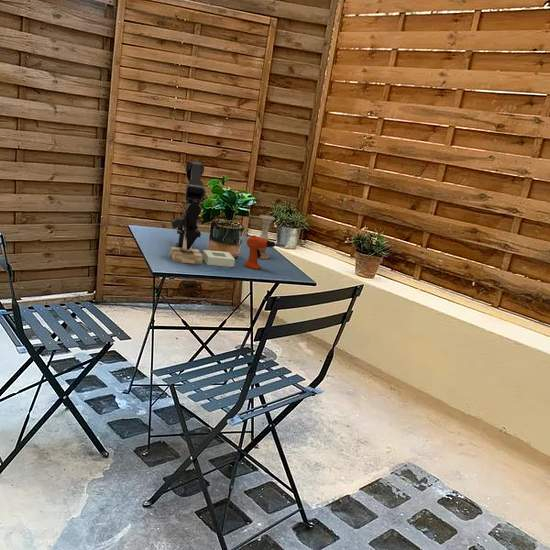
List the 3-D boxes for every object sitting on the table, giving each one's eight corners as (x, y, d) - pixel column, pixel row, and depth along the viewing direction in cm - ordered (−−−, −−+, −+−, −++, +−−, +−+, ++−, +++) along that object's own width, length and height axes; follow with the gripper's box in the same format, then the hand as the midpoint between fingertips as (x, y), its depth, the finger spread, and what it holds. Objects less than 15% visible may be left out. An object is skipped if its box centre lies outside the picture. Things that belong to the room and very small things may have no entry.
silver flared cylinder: (180, 257, 239) (183, 233, 236) (189, 258, 241) (192, 234, 238) (181, 260, 236) (185, 235, 233) (190, 260, 237) (194, 236, 234)
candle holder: (248, 254, 269) (255, 213, 264) (264, 254, 273) (271, 215, 268) (256, 259, 262) (263, 217, 256) (272, 259, 266) (279, 219, 261)
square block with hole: (202, 257, 247) (203, 249, 246) (227, 259, 251) (228, 252, 250) (207, 264, 236) (208, 256, 235) (233, 267, 240) (235, 259, 239)
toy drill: (281, 273, 237) (283, 239, 234) (242, 268, 244) (243, 235, 241) (285, 272, 242) (287, 238, 239) (247, 266, 249) (248, 233, 245)
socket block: (169, 254, 242) (170, 246, 241) (196, 256, 246) (197, 249, 245) (173, 261, 231) (174, 253, 230) (201, 264, 235) (202, 256, 234)
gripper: (170, 206, 239) (165, 241, 243) (176, 215, 222) (171, 252, 226) (195, 209, 242) (190, 243, 246) (203, 218, 226) (198, 254, 230)
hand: (187, 248), depth 237 cm, fingers closed on silver flared cylinder, 4 cm apart
